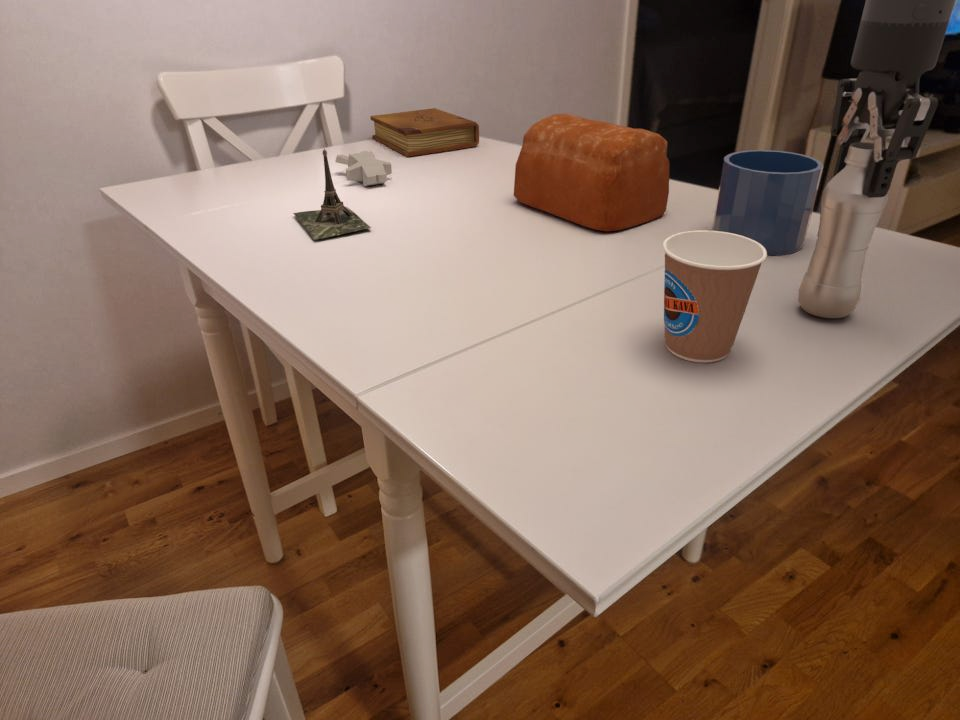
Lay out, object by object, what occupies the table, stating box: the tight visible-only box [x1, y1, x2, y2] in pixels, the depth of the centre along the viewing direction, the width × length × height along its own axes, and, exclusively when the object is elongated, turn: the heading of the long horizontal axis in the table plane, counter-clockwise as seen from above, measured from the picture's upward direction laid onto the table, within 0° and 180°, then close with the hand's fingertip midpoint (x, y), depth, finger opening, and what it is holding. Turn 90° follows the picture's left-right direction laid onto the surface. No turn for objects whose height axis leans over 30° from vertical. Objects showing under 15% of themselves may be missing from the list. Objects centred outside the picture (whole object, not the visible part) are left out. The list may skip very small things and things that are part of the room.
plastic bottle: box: [797, 141, 889, 319], centre depth 75 cm, size 6×7×20 cm
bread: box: [513, 113, 670, 232], centre depth 113 cm, size 17×24×15 cm
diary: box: [370, 107, 480, 158], centre depth 161 cm, size 23×19×6 cm
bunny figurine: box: [334, 150, 393, 187], centre depth 135 cm, size 10×5×15 cm
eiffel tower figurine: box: [293, 143, 372, 241], centre depth 110 cm, size 15×10×13 cm
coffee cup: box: [662, 229, 768, 364], centre depth 71 cm, size 10×10×12 cm
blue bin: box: [711, 149, 824, 257], centre depth 99 cm, size 13×13×12 cm
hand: (858, 187), depth 73 cm, fingers closed on plastic bottle, 6 cm apart
